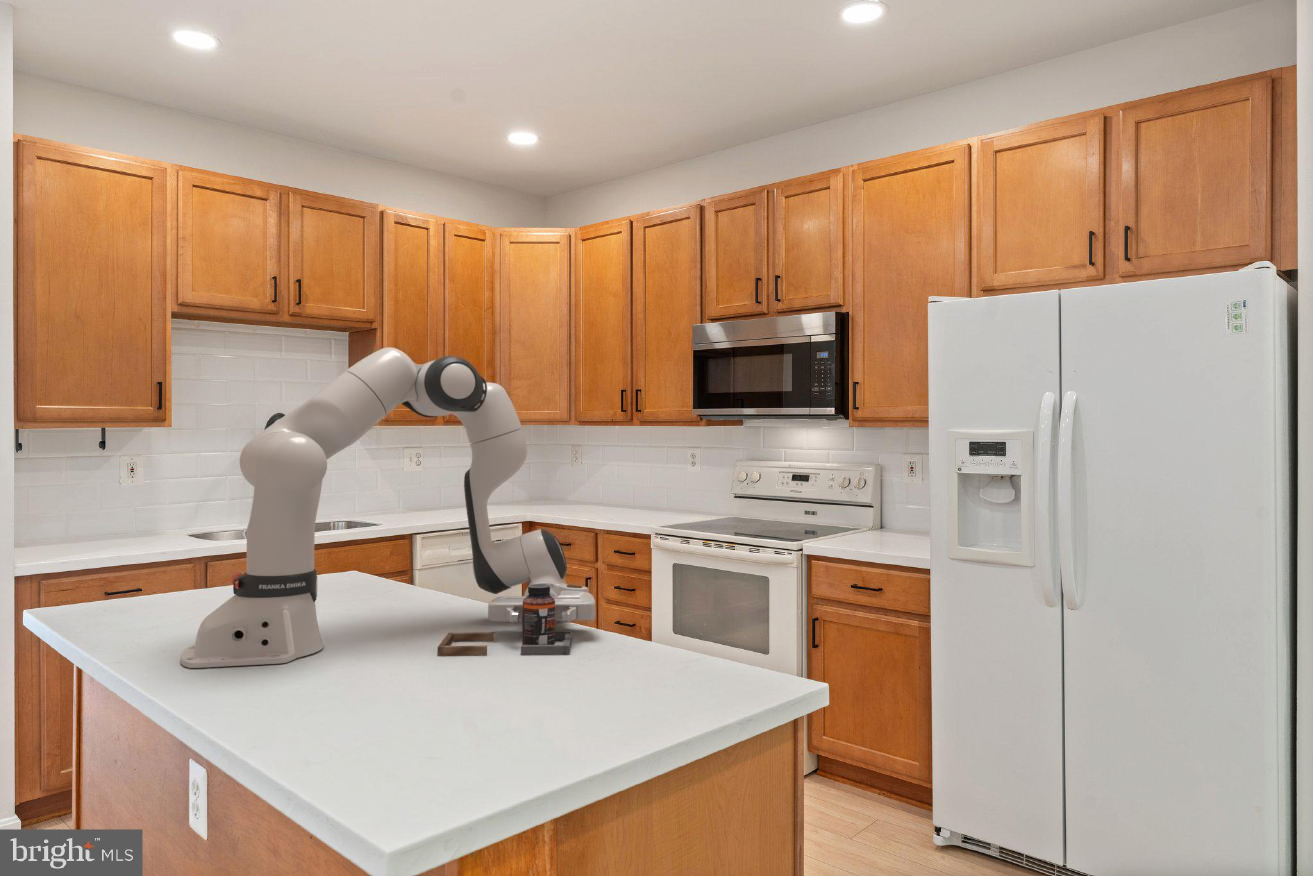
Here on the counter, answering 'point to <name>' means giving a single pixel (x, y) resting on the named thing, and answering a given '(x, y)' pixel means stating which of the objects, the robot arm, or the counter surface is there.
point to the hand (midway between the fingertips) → (540, 618)
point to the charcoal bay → (550, 646)
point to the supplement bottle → (538, 616)
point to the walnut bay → (448, 650)
